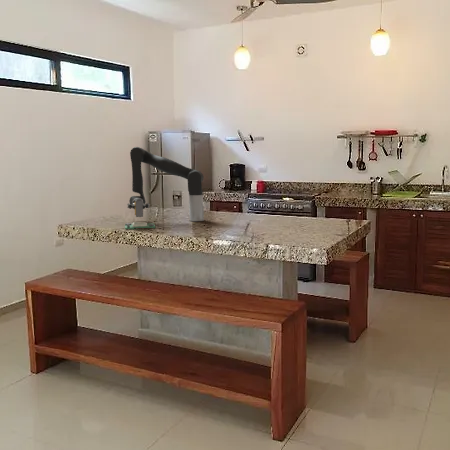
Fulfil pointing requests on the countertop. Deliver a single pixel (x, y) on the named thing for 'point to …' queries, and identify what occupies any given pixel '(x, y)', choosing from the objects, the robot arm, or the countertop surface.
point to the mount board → (139, 225)
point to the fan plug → (139, 208)
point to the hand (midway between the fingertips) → (138, 207)
